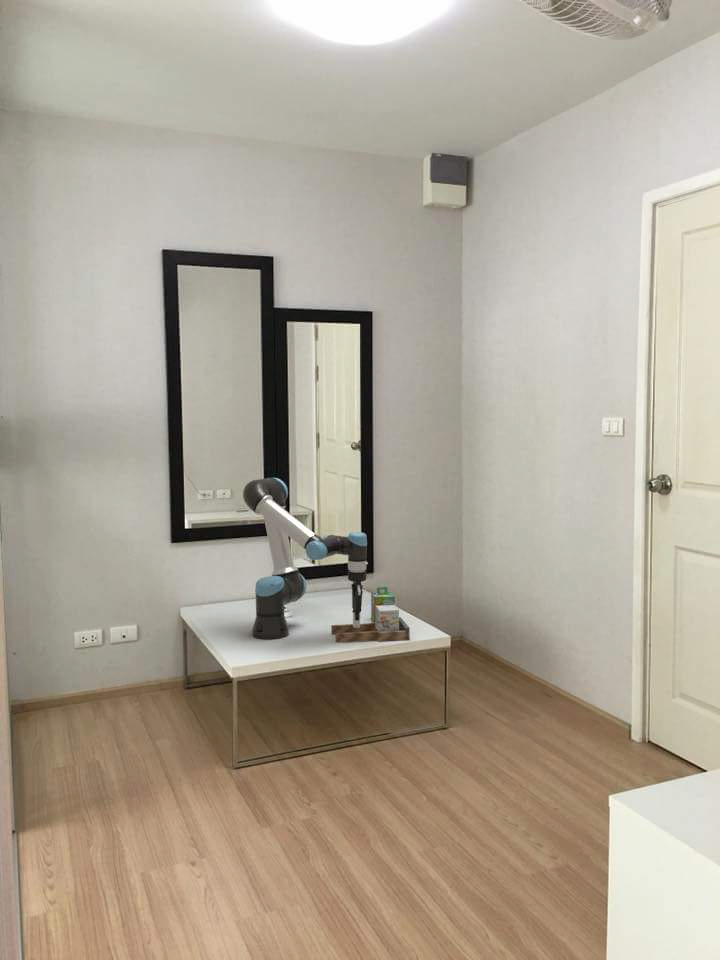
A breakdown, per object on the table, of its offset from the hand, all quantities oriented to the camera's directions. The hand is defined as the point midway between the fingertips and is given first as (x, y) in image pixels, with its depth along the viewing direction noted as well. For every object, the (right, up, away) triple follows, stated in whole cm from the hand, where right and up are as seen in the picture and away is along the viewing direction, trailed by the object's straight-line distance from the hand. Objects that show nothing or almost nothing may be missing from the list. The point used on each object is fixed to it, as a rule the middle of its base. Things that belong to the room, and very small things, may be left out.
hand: (356, 627), depth 334 cm
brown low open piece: (+5, -4, +1) cm, 7 cm away
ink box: (+13, -4, +2) cm, 13 cm away
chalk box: (+11, -2, +26) cm, 28 cm away
